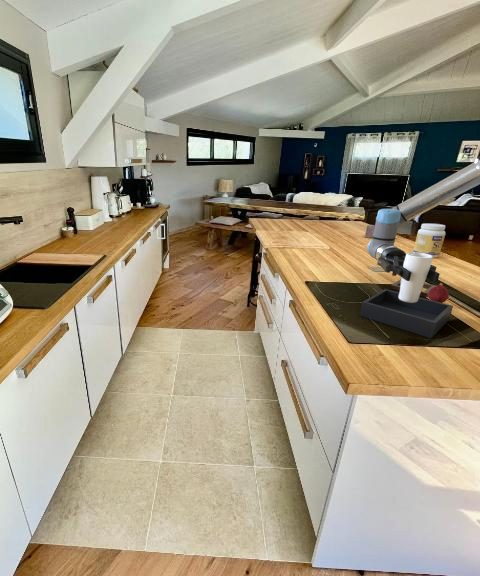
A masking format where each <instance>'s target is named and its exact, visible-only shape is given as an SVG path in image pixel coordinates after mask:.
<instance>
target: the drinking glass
mask: <svg viewBox="0 0 480 576" xmlns="http://www.w3.org/2000/svg"><path fill="white" fill-rule="evenodd" d="M433 259H434V258H433V256H431V255H429V254H425V253H418V252H413V251H411V252H406V257H405V260H404V264H403V267H404V268H406V269H407V270H409V271H410V272H412V273H411V277H410V281H406V280H405V279H403V278H402V277H400V279H401V285H400V291H398V292H399V296H398V298H399V299H400V300H401V301H404V302H408V303H416V302H417V301H418V299H419V297H421V296H420V293H421V291H423V285H424V283H426V280H427V275H428V272H429V269H430V266H431V265H432V261H433Z"/></svg>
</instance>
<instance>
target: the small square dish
mask: <svg viewBox="0 0 480 576" xmlns="http://www.w3.org/2000/svg"><path fill="white" fill-rule="evenodd" d="M400 285H401V278H400V279H398V280H397V281H395V282H394V283H392V284H390V286H389V287H390V290H394V291H398V292H400ZM435 286H437V285H435V284H430V283H426V282H425V283H424V285H423V288H424V289H425V290H424V291H423V290H421V293H420V296H419V297H423V298H427V297H428V292H429V290H430V289H431V288H433V287H435ZM423 288H422V289H423Z"/></svg>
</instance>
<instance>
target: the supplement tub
mask: <svg viewBox="0 0 480 576" xmlns="http://www.w3.org/2000/svg"><path fill="white" fill-rule="evenodd" d="M445 229H446V225H445V224H440V223H422V224H421V226H420V229H418V231H417V234H416V238H415V242H414V246H413V250H412V252H418V253H425V254H429V255H431V256H433V258H432V259H435V258H438V257H440V255H441V252H442V248H443V244H444V240H445V236H446V231H445Z"/></svg>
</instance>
